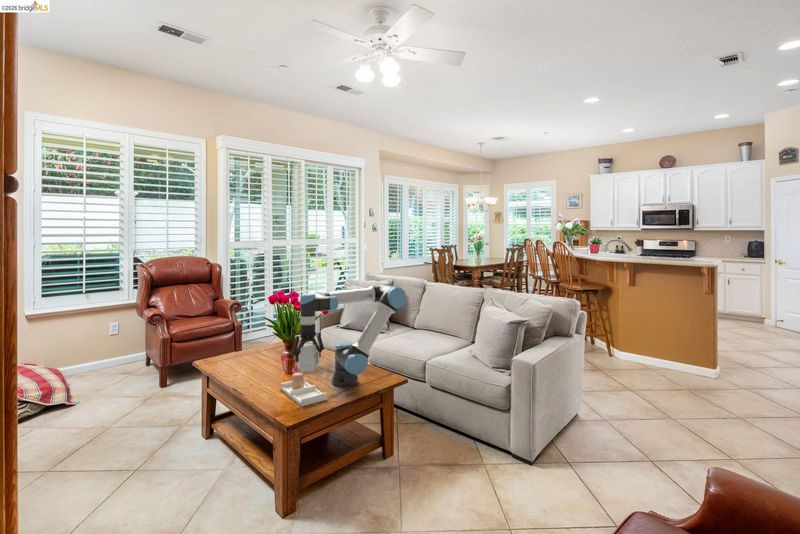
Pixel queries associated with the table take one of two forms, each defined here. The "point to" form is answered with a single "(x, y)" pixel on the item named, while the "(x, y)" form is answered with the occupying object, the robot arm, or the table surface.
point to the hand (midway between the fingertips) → (308, 365)
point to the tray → (302, 390)
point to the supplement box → (308, 357)
